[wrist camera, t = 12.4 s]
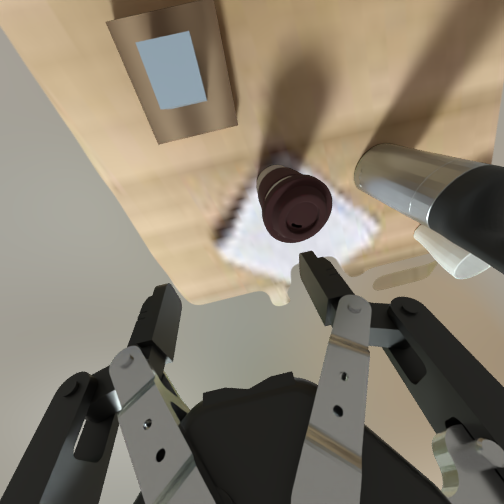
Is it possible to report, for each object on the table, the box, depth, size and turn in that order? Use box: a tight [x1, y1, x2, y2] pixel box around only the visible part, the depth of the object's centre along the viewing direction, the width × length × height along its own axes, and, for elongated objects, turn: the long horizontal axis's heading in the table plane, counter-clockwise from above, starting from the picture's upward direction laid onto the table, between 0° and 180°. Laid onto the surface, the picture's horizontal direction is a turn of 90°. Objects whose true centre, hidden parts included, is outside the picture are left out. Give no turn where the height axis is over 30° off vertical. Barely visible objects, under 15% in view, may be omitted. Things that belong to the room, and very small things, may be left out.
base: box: [106, 0, 238, 144], centre depth 26 cm, size 12×12×3 cm
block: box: [136, 31, 207, 109], centre depth 22 cm, size 5×5×7 cm
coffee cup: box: [256, 165, 332, 243], centre depth 32 cm, size 10×10×15 cm
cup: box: [414, 224, 490, 279], centre depth 47 cm, size 10×10×14 cm
